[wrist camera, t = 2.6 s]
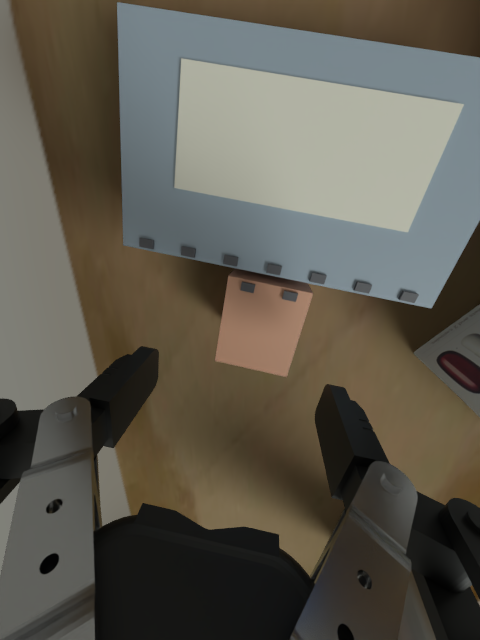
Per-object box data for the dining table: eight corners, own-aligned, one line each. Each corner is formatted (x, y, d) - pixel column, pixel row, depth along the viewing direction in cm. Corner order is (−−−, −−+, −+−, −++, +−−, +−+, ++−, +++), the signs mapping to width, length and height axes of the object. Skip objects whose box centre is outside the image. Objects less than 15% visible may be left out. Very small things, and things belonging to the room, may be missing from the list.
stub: (301, 272, 19) (313, 294, 13) (283, 336, 21) (286, 378, 16) (241, 259, 19) (227, 276, 14) (229, 325, 22) (214, 362, 16)
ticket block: (453, 126, 15) (567, 67, 9) (384, 282, 19) (433, 309, 13) (172, 79, 15) (114, -2, 10) (165, 238, 20) (121, 245, 14)
